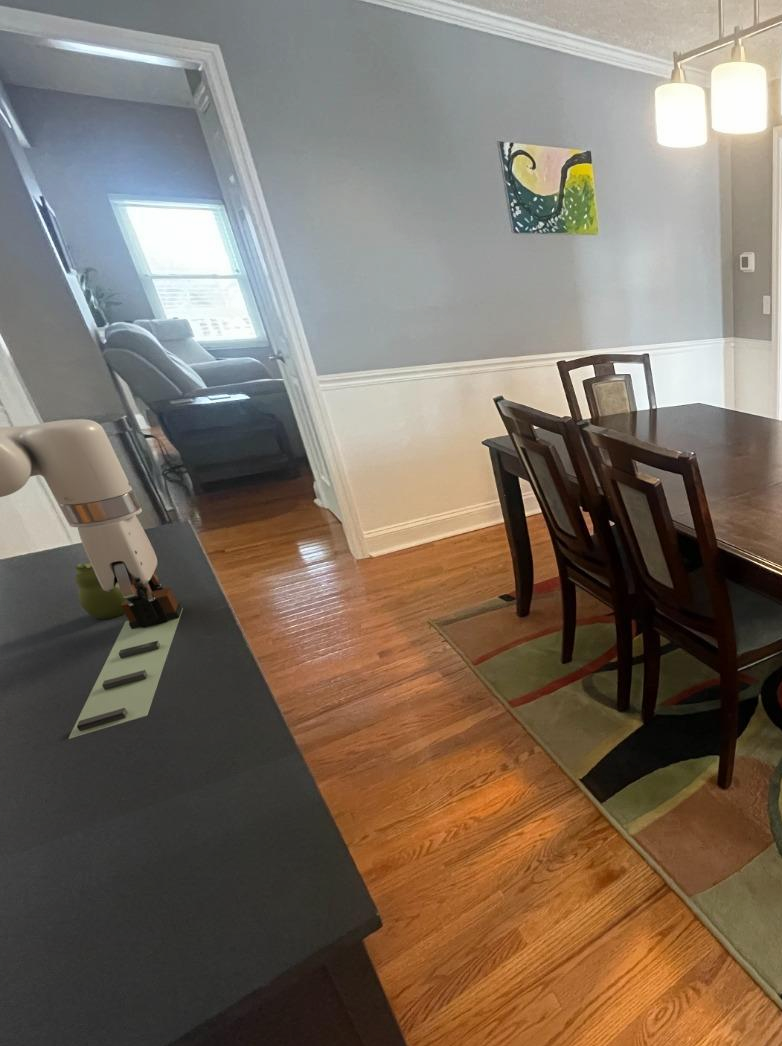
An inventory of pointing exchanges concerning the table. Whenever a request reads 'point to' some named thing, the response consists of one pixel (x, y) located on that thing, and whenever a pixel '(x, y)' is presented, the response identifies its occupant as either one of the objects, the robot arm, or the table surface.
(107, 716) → the chalk
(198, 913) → the table surface
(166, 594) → the eraser
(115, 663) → the board
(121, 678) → the chalk
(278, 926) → the table surface
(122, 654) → the chalk
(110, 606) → the pear
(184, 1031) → the table surface
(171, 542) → the table surface
